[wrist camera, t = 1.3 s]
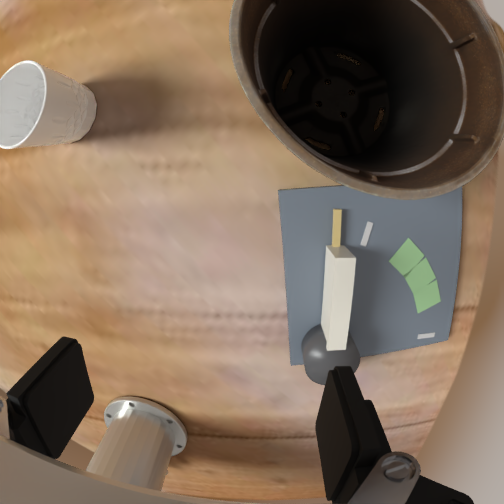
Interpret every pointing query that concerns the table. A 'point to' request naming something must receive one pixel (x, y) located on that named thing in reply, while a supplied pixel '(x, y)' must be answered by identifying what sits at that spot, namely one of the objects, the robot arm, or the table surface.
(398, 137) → the plant pot
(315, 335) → the peg dial
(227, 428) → the table surface
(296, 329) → the board
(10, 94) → the white cup
